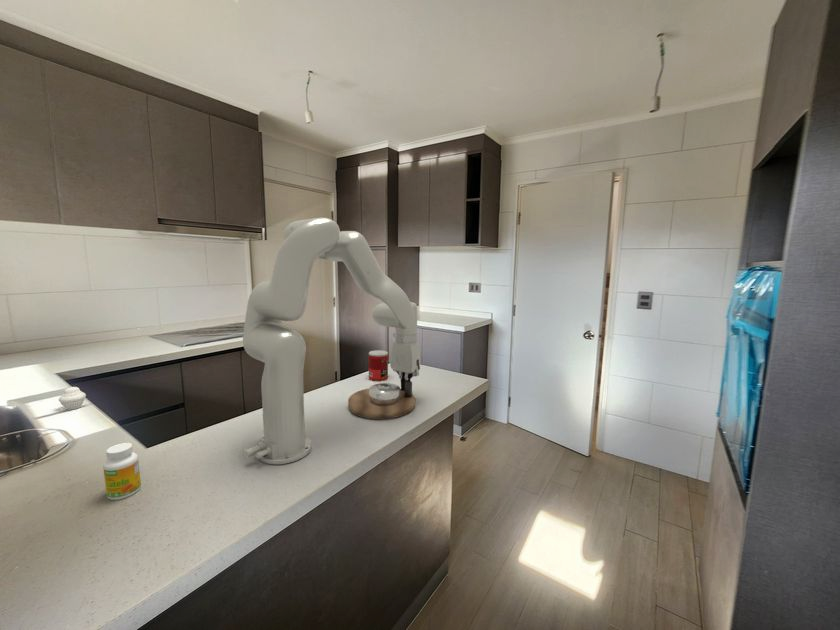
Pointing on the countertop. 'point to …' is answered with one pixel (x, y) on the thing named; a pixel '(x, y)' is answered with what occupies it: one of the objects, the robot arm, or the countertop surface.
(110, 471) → the supplement bottle
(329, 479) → the countertop surface
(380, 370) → the canned food
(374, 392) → the cover
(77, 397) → the muffin
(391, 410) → the turntable
